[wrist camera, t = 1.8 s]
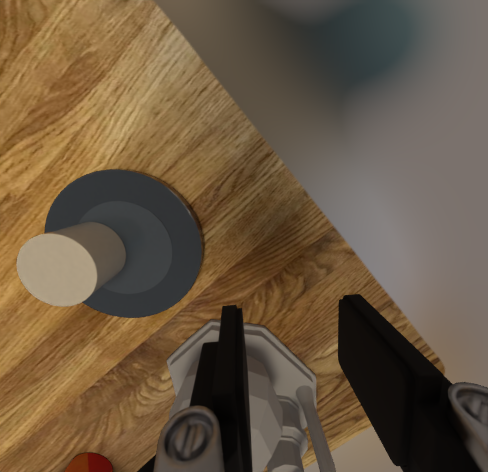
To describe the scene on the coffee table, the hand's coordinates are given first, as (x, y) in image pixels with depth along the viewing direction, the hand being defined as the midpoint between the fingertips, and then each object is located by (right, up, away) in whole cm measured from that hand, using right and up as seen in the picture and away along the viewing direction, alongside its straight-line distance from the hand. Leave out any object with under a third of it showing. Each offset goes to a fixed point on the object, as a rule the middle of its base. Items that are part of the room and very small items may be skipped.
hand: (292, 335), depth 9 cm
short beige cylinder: (-17, +2, +15) cm, 23 cm away
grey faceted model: (-2, -15, +22) cm, 27 cm away
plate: (-14, +3, +17) cm, 22 cm away
